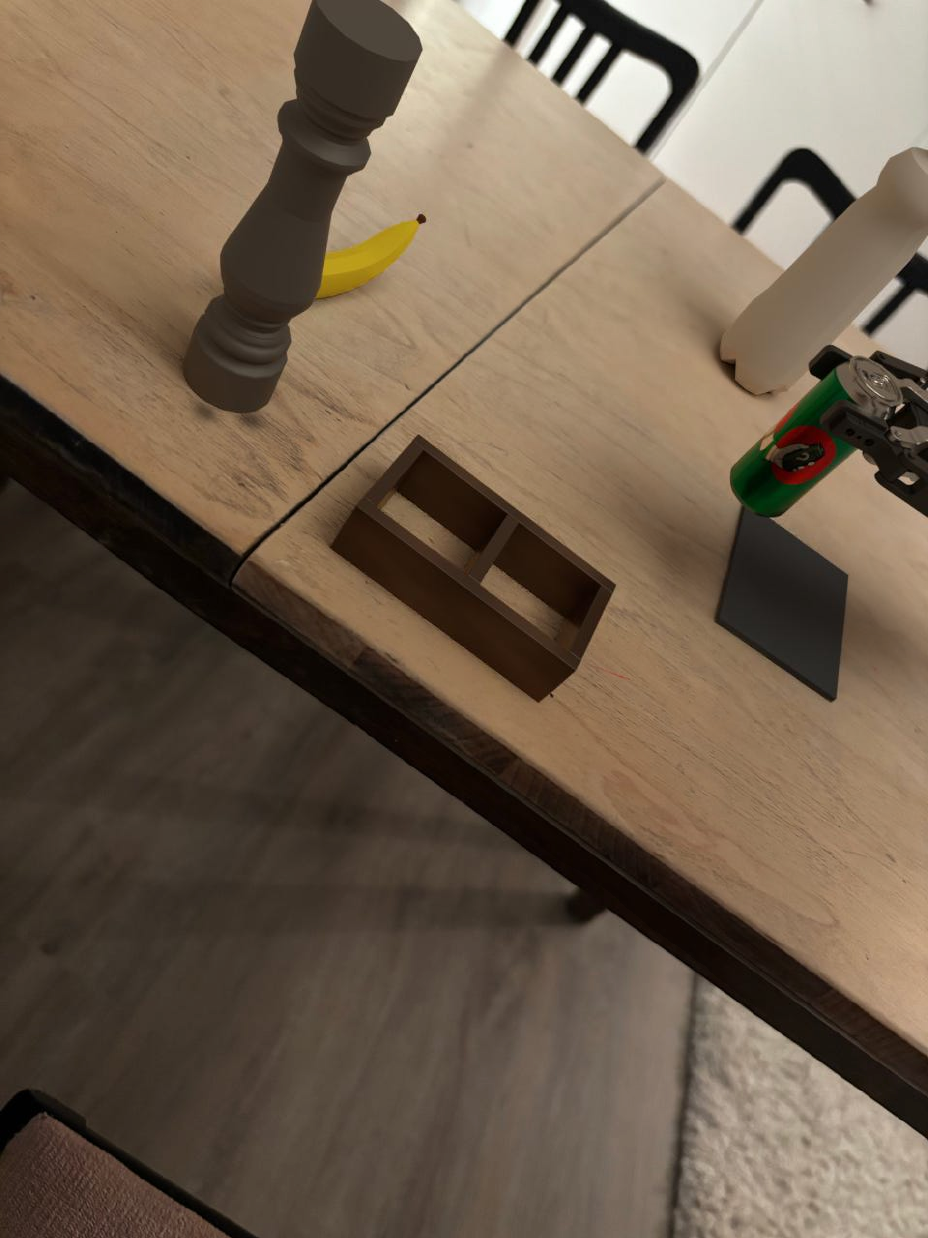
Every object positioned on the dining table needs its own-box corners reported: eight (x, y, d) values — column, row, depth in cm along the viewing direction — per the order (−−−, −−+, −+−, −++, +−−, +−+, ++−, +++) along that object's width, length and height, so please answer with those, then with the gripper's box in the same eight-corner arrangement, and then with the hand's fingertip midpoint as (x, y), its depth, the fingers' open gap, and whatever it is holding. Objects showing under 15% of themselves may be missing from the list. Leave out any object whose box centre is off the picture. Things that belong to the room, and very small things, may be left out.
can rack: (581, 618, 68) (617, 584, 65) (539, 703, 62) (576, 670, 59) (391, 474, 67) (418, 433, 64) (329, 547, 61) (355, 505, 58)
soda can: (787, 529, 69) (918, 418, 61) (733, 512, 67) (861, 395, 58) (770, 478, 72) (892, 365, 63) (718, 460, 70) (837, 340, 61)
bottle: (794, 402, 101) (1049, 161, 80) (743, 404, 96) (1001, 146, 74) (750, 339, 104) (984, 89, 83) (698, 337, 99) (933, 69, 77)
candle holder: (236, 335, 67) (373, -19, 49) (290, 399, 66) (450, 63, 48) (163, 354, 63) (283, -25, 44) (220, 423, 62) (365, 65, 44)
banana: (194, 298, 67) (218, 225, 62) (382, 264, 80) (414, 201, 75) (218, 328, 66) (244, 257, 62) (403, 289, 79) (436, 227, 74)
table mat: (831, 702, 77) (836, 699, 77) (714, 621, 75) (719, 617, 75) (844, 578, 88) (848, 574, 87) (742, 504, 86) (746, 500, 86)
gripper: (1028, 384, 68) (849, 277, 63) (1091, 528, 60) (887, 416, 54) (943, 452, 74) (771, 358, 69) (989, 592, 65) (795, 496, 60)
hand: (824, 384), depth 62 cm, fingers closed on soda can, 5 cm apart
